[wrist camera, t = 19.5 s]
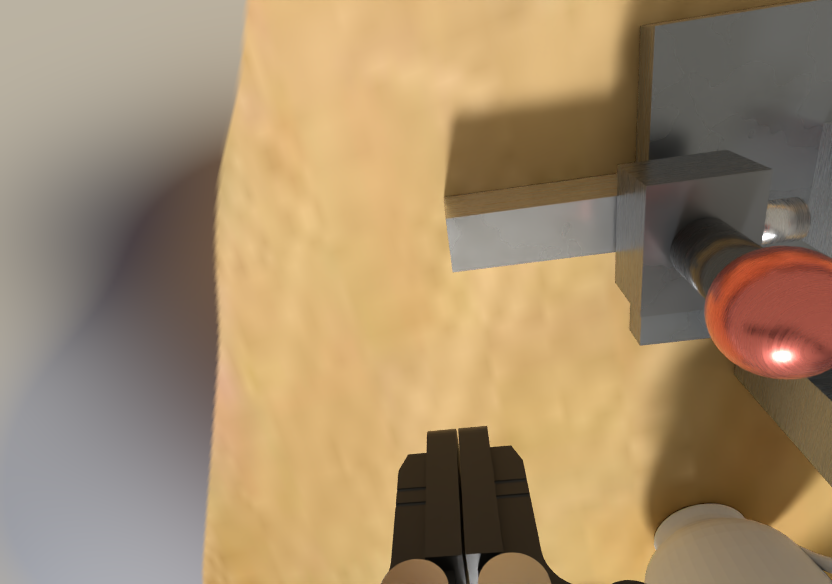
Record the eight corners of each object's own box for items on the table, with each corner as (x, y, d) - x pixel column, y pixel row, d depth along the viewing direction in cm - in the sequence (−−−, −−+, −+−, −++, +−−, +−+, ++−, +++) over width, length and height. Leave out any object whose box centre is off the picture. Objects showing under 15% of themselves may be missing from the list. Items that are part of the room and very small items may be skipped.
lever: (782, 141, 20) (1042, 229, 11) (763, 264, 22) (970, 413, 14) (617, 164, 20) (750, 264, 12) (615, 282, 23) (726, 436, 14)
